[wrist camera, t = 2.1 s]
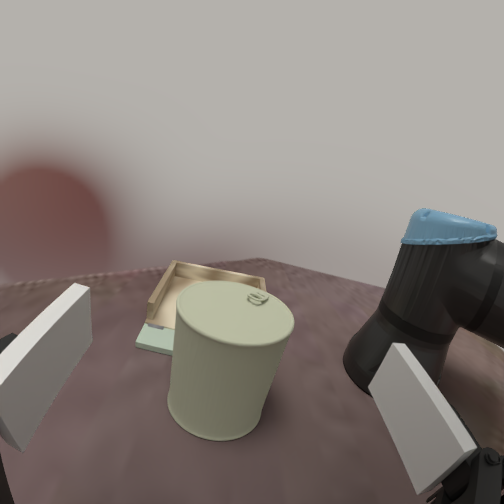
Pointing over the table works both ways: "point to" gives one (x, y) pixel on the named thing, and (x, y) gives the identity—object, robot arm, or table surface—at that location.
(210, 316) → the can
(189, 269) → the tray
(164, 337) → the tailgate
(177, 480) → the table surface
